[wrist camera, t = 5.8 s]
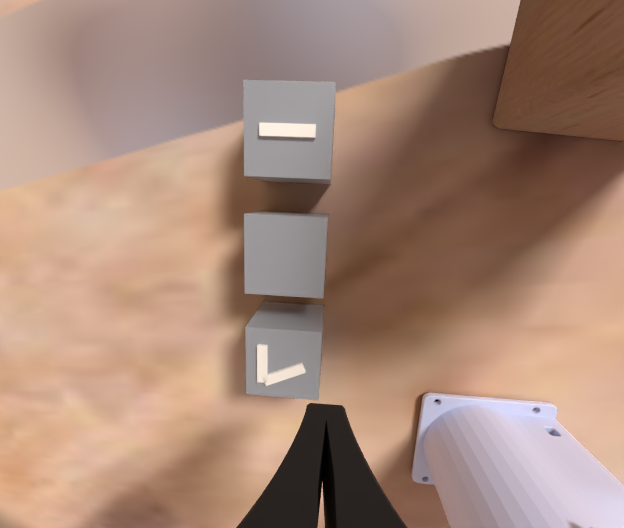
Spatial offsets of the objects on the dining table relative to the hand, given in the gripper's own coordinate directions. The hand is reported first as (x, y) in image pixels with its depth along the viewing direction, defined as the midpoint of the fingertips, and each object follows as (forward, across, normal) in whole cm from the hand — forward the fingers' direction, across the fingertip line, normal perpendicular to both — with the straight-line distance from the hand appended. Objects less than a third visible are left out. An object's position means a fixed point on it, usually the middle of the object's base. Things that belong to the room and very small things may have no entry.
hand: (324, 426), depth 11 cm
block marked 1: (+11, +2, -12) cm, 16 cm away
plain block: (+11, +2, -5) cm, 12 cm away
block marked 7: (+11, +2, +2) cm, 11 cm away
